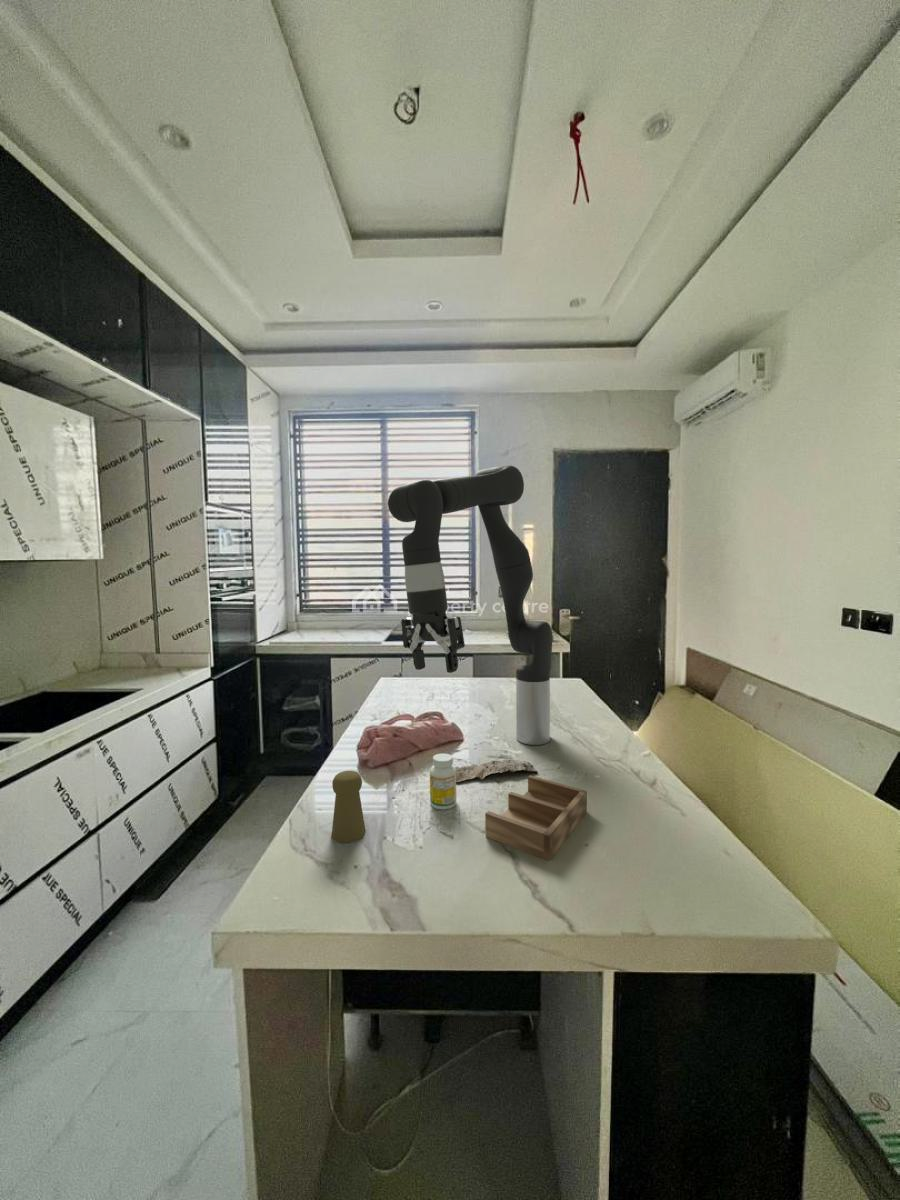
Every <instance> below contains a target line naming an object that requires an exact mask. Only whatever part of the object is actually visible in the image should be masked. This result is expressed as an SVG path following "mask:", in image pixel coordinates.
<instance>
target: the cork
mask: <svg viewBox="0 0 900 1200" xmlns="http://www.w3.org/2000/svg"><path fill="white" fill-rule="evenodd" d="M331 784H332V786H331V787H332V790H333V792H334V794H335V798H334V799H335V800H334V808H333V819H332V828H331V839H332V840H333V841H334V842H336V843H339V844H342V843H343V844H349V843H353V842H356V841H358V840H360V839H362V838H363V837H364V836H365V834H366V831H367V830H366V825H365V818H364V812H363V808H362V801H361V799H362V798H361V795H360V794H361V793H360V790H361V789H362V785H363V779H362V776H361V774H360V773H359V772H358V771H356V770H343V771H340V772H339V773H337V774H336V775H335V776H334V777H333V779H332V783H331Z"/></svg>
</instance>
